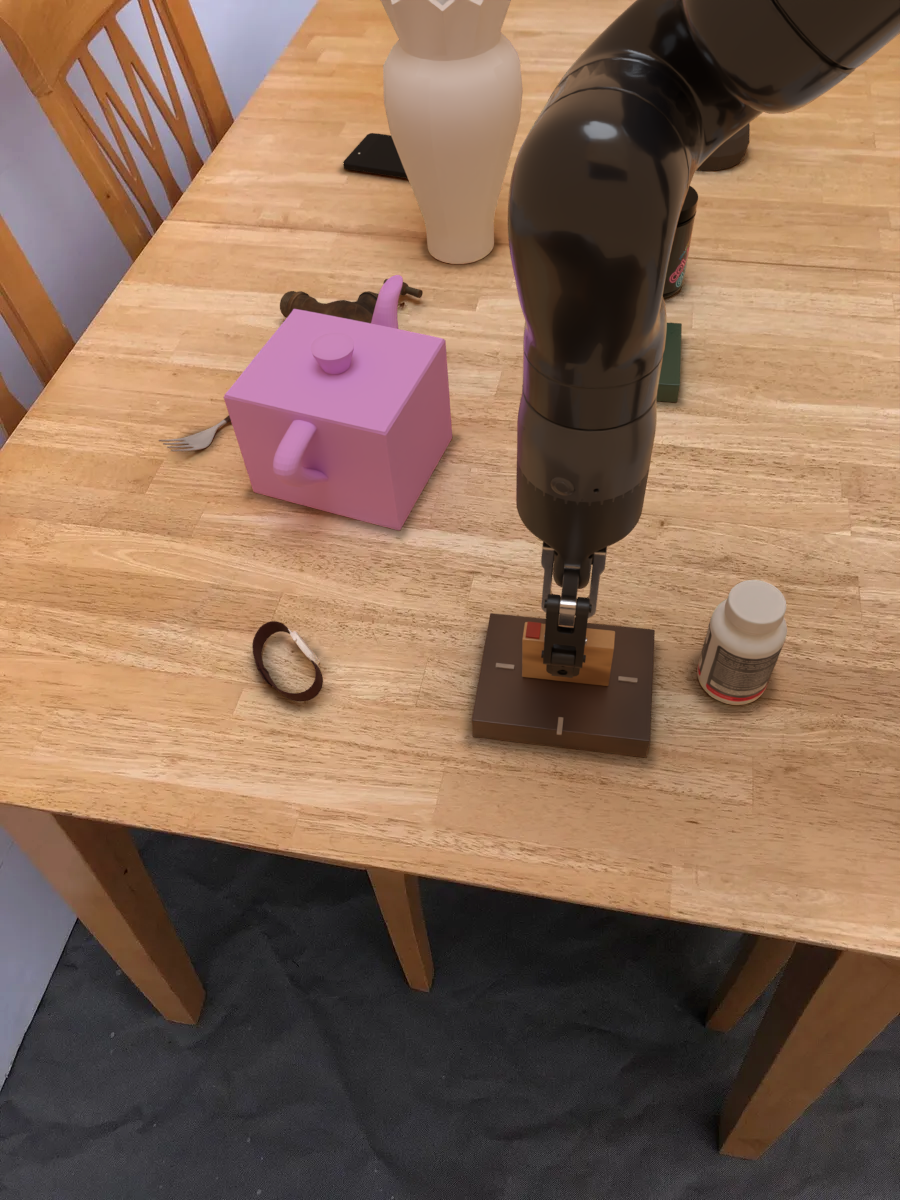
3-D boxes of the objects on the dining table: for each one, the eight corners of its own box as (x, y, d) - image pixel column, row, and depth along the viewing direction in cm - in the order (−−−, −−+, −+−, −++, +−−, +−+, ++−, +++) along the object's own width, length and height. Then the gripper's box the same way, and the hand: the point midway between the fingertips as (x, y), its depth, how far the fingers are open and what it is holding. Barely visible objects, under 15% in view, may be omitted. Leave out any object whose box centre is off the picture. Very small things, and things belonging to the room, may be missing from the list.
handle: (609, 668, 70) (615, 628, 66) (608, 686, 69) (614, 646, 65) (524, 659, 71) (525, 619, 67) (522, 677, 70) (522, 637, 66)
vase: (411, 290, 106) (382, 8, 83) (390, 224, 115) (359, -48, 92) (536, 269, 107) (541, -16, 84) (505, 205, 116) (502, -68, 93)
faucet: (262, 340, 102) (351, 286, 110) (382, 386, 94) (466, 325, 103) (255, 299, 98) (346, 247, 107) (378, 344, 91) (466, 284, 99)
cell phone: (467, 189, 119) (467, 182, 118) (342, 170, 123) (341, 163, 123) (491, 156, 124) (491, 149, 123) (369, 138, 128) (369, 132, 128)
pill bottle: (781, 690, 71) (813, 614, 63) (722, 717, 70) (748, 643, 62) (739, 639, 74) (765, 561, 66) (682, 664, 73) (702, 587, 65)
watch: (340, 688, 73) (332, 662, 71) (288, 719, 72) (279, 694, 69) (292, 626, 77) (284, 599, 75) (243, 654, 76) (232, 628, 73)
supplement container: (663, 309, 101) (677, 220, 93) (611, 288, 104) (619, 200, 96) (695, 279, 104) (710, 191, 96) (643, 260, 107) (654, 172, 99)
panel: (651, 643, 74) (655, 624, 72) (646, 762, 68) (650, 744, 66) (491, 627, 76) (490, 608, 74) (471, 741, 70) (470, 723, 68)
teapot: (478, 392, 94) (473, 269, 83) (377, 570, 81) (355, 452, 70) (345, 363, 98) (323, 243, 87) (227, 528, 85) (184, 410, 74)
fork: (303, 386, 97) (299, 370, 95) (178, 466, 90) (172, 451, 89) (287, 375, 98) (284, 360, 96) (163, 454, 91) (156, 439, 90)
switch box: (678, 340, 98) (684, 308, 95) (677, 402, 92) (682, 370, 89) (565, 334, 99) (567, 302, 96) (556, 394, 94) (557, 362, 90)
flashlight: (662, 167, 119) (741, 176, 117) (692, -59, 100) (787, -55, 97) (676, 131, 125) (751, 139, 123) (706, -90, 105) (796, -87, 103)
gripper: (646, 551, 47) (616, 714, 60) (655, 373, 56) (627, 549, 68) (500, 538, 48) (501, 700, 61) (531, 365, 57) (526, 539, 69)
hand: (568, 620), depth 65 cm, fingers open, 8 cm apart
